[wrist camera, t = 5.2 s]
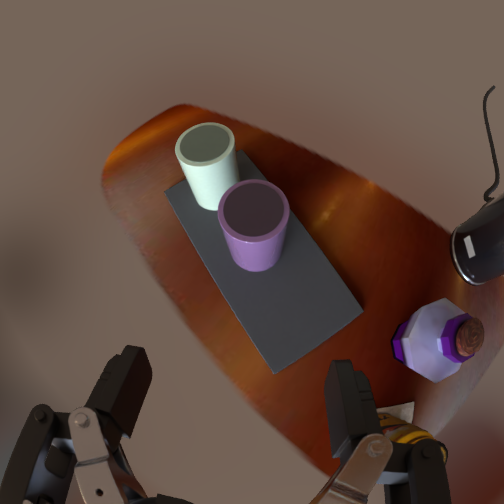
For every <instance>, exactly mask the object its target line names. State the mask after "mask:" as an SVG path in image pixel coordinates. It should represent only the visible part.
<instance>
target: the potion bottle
mask: <svg viewBox="0 0 504 504" xmlns="http://www.w3.org/2000/svg"><path fill="white" fill-rule="evenodd" d="M483 340H484V328H483V325H482V323H481V321H480V320H479V319H477V318H472V317H471V316H470V315H469V314H468V313H464V312H463V311H462V310H461V309H459V308H458V307H457V306H456V305H454V304H453V303H452V302H450V301H449V300H448V299H447V298H443V299H441V300H438V301H436V302H433V303H431V304H428V305H425V306H423V307H421V308H420V309H419V310H417V311H416V312H415V313H414V314H412V315H411V316H410V318H409V320H408V321H406V322H405V323H402V324H399V325H398V327H397V329H396V331H395V333H394V335H393V337H392V339H391V346H392V351H393V357H394V359H396V360H398V361H399V362H401V363H403V364H404V365H406V366H408V367H409V368H411V369H413V370H414V371H416V372H417V373H419V374H421V375H422V376H423V377H426V378H427V379H429V380H431V381H433V382H434V383H437V382H439V381H441V380H443V379H444V378H446V377H448V376H450V375H451V374H453V373H455V372H457V371H458V370H459V368H460V366H461V363H463V362H464V361H466V360H468V359H469V358H471V357H472V356H474V354H475V352H477V351H479V349H480V348H481V346H482V343H483Z"/></svg>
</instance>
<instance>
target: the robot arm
mask: <svg viewBox="0 0 504 504" xmlns="http://www.w3.org/2000/svg"><path fill="white" fill-rule="evenodd" d="M493 89H495V86H493V87H491V88H490V89H489V90H488V91H487V93H486V94H485V96H484V100H483V112H484V119H485V124H486V129H487V133H488V138H489V143H490V147H491V153H492V158H493V163H494V167H495V182H494V184H493V185H492V186H491V187H490V188H489V189H488V190H487V191H486V192H485V193H484V200H485V201H486V202H487V203H486V204H484V205H483V206H482V208H481V209H480V210H479V212H477V214H475V215H474V216H472V217H471V218H469V219H468V220H467V221H466V222H464V223H462V224H460V225H459V226H458V227H456V228H455V230H454V231H453V233H452V235H451V239H450V253H451V258H452V261H453V264H454V267H455V269H456V271H457V272H458V274H459V275H460V277H461V278H462V279H463V280H464V281H465V282H466V283H468V284H470V285H473V286H478V285H481V284H484V283H485V282H487V281H489V280H492V279H494V278H497V277H499V276H501V275H504V191H503V192H502V193H501V194H500V195H499V196H497V197H496V198H495V199H494V198H491V197H488V196H489V195H490V194H491V193H492V192H493V191H494V190H495V189H496V188H497V186H498V184H499V168H498V163H497V159H496V154H495V149H494V144H493V141H492V136H491V132H490V127H489V123H488V118H487V112H486V101H487V98H488V95H489V94H490V93H491V92H492V91H493ZM151 380H152V368H151V366H150V363H149V360H148V357H147V355H146V352H145V349H144V348H142V347H137V346H131V345H127V346H126V347H125V348H124V350H123V352H122V353H121V355H117V354H116V355H115V356H114V357H113V358H112V359H110V360H109V361H108V363H107V365H106V366H105V368H104V371H103V372H102V374H101V376H100V379H98V381H97V383H96V385H95V387H94V389H93V391H92V393H91V395H90V397H89V399H88V401H87V403H86V405H85V406H84V407H79V408H77V409H75V410H74V411H72V413H62V412H54V411H53V410H52V409H51V408H50V407H49V406H48V405H45V404H39V405H37V406H35V407H34V408H33V409H32V411H31V412H30V414H29V417H28V418H27V421H26V423H25V425H24V427H23V429H22V431H21V434H20V436H19V438H18V441H17V443H16V445H15V448H14V450H13V453H12V455H11V458H10V460H9V463H8V466H7V468H6V471H5V474H4V477H3V480H2V483H1V486H0V504H65V501H66V498H67V494H68V490H69V487H70V483H71V480H72V476H73V473H74V472H75V475H76V479H77V481H78V485H79V487H80V491H81V493H82V496H83V499H84V501H85V504H193V503H191V502H188V501H186V500H183V499H178V498H173V497H170V496H165V495H161V494H157V497H150V498H148V497H147V495H146V493H145V491H144V490H143V488H142V486H141V485H140V484H139V482H138V481H137V480H136V478H135V476H134V474H133V472H132V470H131V468H130V466H129V463H128V461H127V459H126V456H125V454H124V451H123V449H122V446H121V444H120V440H121V437H122V436H123V437H126V438H129V439H130V438H131V435H132V432H133V429H134V426H135V423H136V421H137V418H138V415H139V412H140V410H141V407H142V404H143V401H144V399H145V396H146V394H147V391H148V388H149V386H150V383H151ZM324 395H325V402H326V409H327V417H328V425H329V433H330V442H331V451H332V458H336V457H340V462H341V464H340V466H339V467H338V468H337V470H336V471H335V473H334V474H333V475H332V477H331V478H330V479H329V481H328V482H327V483H326V484H325V486H324V487H323V488H322V490H321V491H320V492H319V493H318V494H317V496H316V497H315V498H314V499H313V500H312V501H311V502H310V503H309V504H367V501H368V500H367V497H368V495H369V493H370V492H371V490H372V488H373V487H374V485H375V484H376V483H377V484H384V492H385V504H451V497H450V490H449V484H448V479H447V474H446V469H445V464H444V459H443V455H442V450H441V447H440V445H439V444H438V442H437V441H435V440H433V439H430V438H424V439H421V440H419V441H418V442H417V443H415V444H408V443H398V442H394V441H391V440H390V439H389V438H388V437H386V436H385V435H384V433H383V431H382V429H381V425H380V421H379V417H378V413H377V409H376V405H375V401H374V400H373V399H374V397H373V394H372V392H371V387H370V383H369V380H368V378H367V377H366V376H365V375H364V373H363V372H362V371H354V369H353V366H352V362H351V360H350V359H347V360H332V362H331V365H330V368H329V371H328V374H327V377H326V380H325V385H324ZM51 444H52V445H51ZM50 447H51V448H50ZM49 449H50V450H49ZM48 452H49V453H48ZM47 455H48V456H47ZM46 457H47V458H46ZM45 460H46V461H45Z"/></svg>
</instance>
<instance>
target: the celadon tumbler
mask: <svg viewBox="0 0 504 504" xmlns="http://www.w3.org/2000/svg"><path fill="white" fill-rule="evenodd" d="M175 152H176V156H177V158H178V160H179V163H180V165H181V167H182V170H183V172H184V174H185V177H186V179H187V181H188V183H189V186H190V188H191V190H192V193H193V195H194V197H195V199H196V201H197V203H198V204H199V205H200V206H202V207H203V208H205V209H208V210H218V205H219V202H220V199H221V197H222V196H223V194H224V193H225V192H226V191H227V190H228V189H229V188H230V187H231V186H233V185H234V184H236V183H238V182H240V175H239V168H238V160H237V153H236V146H235V138H234V135H233V133H232V132H231V130H230V129H229V128H227V127H226V126H224V125H222V124H218V123H202V124H198V125H196V126H193V127H191V128H189V129H188V130H186V131H185V132H184V133H183V134H182V135H181V136H180V137H179V139H178V141H177V143H176V147H175Z"/></svg>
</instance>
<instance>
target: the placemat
mask: <svg viewBox="0 0 504 504" xmlns="http://www.w3.org/2000/svg"><path fill="white" fill-rule="evenodd" d="M236 153H237V160H238V168H239V175H240V182H241V181H244V180H250V179H258V180H264V181H267V182H268V180H267V179H266V178H265V177H264V175H263V174H262V173H261V172H260V171H259V169H258V168H257V167H256V166H255V165H254V163H253V162H252V161H251V160H250V159H249V157H248V156H247V155H246V154H245V153H244V151H243V150H242V149H241V150H239V151H237V152H236ZM164 193H165V195H166V197H167V198H168V200H169V202H170V204H171V206H172V208H173V209H174V211H175V213H176V215H177V217H178V218H179V220H180V222H181V224H182V226H183V227H184V229H185V231H186V233H187V235H188V236H189V238H190V240H191V242H192V243H193V245H194V247H195V248H196V250H197V252H198V254H199V255H200V257H201V259H202V261H203V262H204V264H205V266H206V267H207V269H208V271H209V272H210V274H211V276H212V277H213V279H214V281H215V282H216V284H217V286H218V287H219V289H220V291H221V292H222V294H223V296H224V297H225V299H226V300H227V302H228V304H229V305H230V307H231V309H232V310H233V312H234V313H235V315H236V317H237V318H238V320H239V321H240V323H241V325H242V326H243V328H244V329H245V331H246V332H247V334H248V335H249V337H250V339H251V340H252V342H253V343H254V345H255V346H256V348H257V349H258V351H259V352H260V354H261V355H262V357H263V358H264V360H265V361H266V363H267V364H268V366H269V367H270V369H271V370H272V372H273V373H274V374H276V373H277V372H279V371H280V370H282V369H284V368H285V367H287V366H288V365H290V364H291V363H293V362H294V361H296V360H298V359H299V358H301V357H302V356H304V355H305V354H306V353H308V352H309V351H311V350H312V349H314V348H315V347H317V346H318V345H320V344H321V343H322V342H324V341H325V340H327V339H328V338H329V337H331V336H332V335H333V334H335V333H336V332H337V331H339V330H340V329H342V328H343V327H344V326H345V325H347V324H348V323H349V322H351V321H352V320H353V319H355V318H356V317H357V316H358V315H360V314H361V313H362V312H363V309H362V308H361V306H360V305H359V303H358V302H357V300H356V299H355V297H354V296H353V294H352V293H351V291H350V290H349V289H348V287H347V286H346V284H345V283H344V281H343V280H342V278H341V277H340V276H339V274H338V273H337V271H336V270H335V269H334V267H333V266H332V264H331V263H330V262H329V260H328V259H327V257H326V256H325V255H324V253H323V252H322V251H321V249H320V248H319V246H318V245H317V244H316V242H315V241H314V240H313V238H312V237H311V236H310V234H309V233H308V232H307V230H306V229H305V228H304V226H303V225H302V224H301V222H300V221H299V220H298V218H297V217H296V216H295V215H294V213H293V212H292V211H291V209H290V213H289V220H288V225H287V230H286V235H285V240H284V245H283V250H282V254H281V256H280V258H279V260H278V261H277V262H276V263H275V264H274V265H273V266H272V267H271V268H269V269H267V270H264V271H258V272H253V271H248V270H245V269H243V268H241V267H240V266H239V265H237V264H236V263H235V261H234V260H233V258H232V256H231V254H230V251H229V248H228V245H227V242H226V239H225V237H224V234H223V231H222V228H221V225H220V222H219V219H218V210H208V209H205V208H203V207H202V206H200V205H199V204H198V203H197V201H196V199H195V197H194V195H193V193H192V190H191V188H190V186H189V183H188V181H187V179H185V180H183V181H181V182H180V183H178V184H176V185H174V186H173V187H171V188H169V189H168V190H166V191H164Z"/></svg>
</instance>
